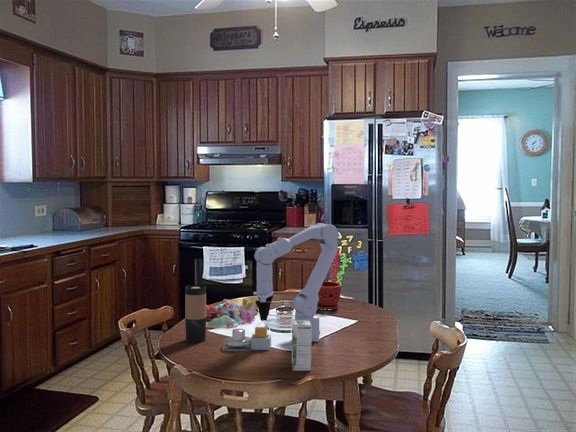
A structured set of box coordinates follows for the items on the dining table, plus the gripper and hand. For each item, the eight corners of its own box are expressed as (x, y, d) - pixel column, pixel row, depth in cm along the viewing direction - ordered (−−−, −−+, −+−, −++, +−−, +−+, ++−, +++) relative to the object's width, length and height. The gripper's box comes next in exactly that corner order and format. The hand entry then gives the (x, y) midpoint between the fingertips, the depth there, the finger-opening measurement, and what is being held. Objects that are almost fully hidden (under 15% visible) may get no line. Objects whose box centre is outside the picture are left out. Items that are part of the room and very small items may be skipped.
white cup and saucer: (254, 343, 191) (254, 326, 190) (250, 351, 181) (250, 334, 180) (227, 342, 191) (227, 326, 191) (222, 351, 181) (221, 333, 181)
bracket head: (273, 339, 196) (273, 328, 196) (269, 349, 183) (269, 338, 183) (255, 338, 196) (255, 328, 196) (250, 349, 183) (250, 338, 183)
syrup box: (291, 365, 167) (291, 320, 166) (309, 364, 168) (309, 319, 167) (292, 371, 162) (293, 324, 161) (311, 370, 162) (312, 324, 161)
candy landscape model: (208, 313, 236) (208, 293, 236) (259, 315, 233) (259, 295, 232) (189, 328, 212) (189, 305, 211) (246, 330, 208) (246, 307, 208)
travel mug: (210, 338, 196) (209, 285, 195) (200, 344, 189) (199, 289, 188) (191, 336, 199) (191, 284, 198) (181, 342, 192) (181, 287, 190)
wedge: (255, 346, 187) (255, 327, 186) (267, 346, 187) (267, 327, 186) (254, 348, 184) (254, 328, 184) (266, 348, 184) (266, 329, 184)
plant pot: (311, 311, 239) (311, 285, 239) (314, 305, 252) (314, 280, 252) (340, 312, 237) (340, 286, 237) (341, 306, 250) (341, 281, 250)
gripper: (255, 277, 197) (255, 312, 198) (251, 284, 182) (251, 322, 183) (274, 277, 197) (274, 312, 197) (271, 284, 182) (271, 322, 183)
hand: (264, 317), depth 190 cm, fingers open, 7 cm apart
